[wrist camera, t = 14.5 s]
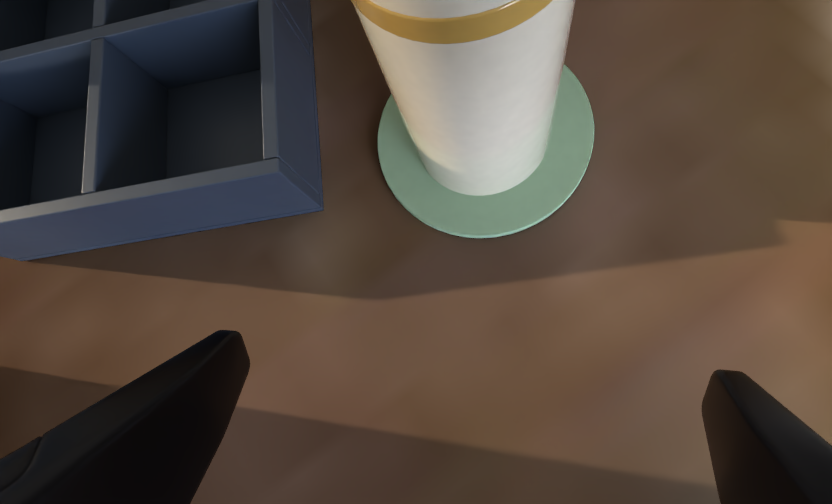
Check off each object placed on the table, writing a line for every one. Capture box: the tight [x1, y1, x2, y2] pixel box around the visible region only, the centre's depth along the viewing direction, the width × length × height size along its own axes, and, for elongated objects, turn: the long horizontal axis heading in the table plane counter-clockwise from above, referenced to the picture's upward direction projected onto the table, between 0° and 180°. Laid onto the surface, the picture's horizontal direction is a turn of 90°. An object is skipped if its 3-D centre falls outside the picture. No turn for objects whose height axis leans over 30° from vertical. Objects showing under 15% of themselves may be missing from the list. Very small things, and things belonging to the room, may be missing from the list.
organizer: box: [0, 0, 324, 261], centre depth 22 cm, size 15×15×4 cm
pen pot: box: [351, 0, 576, 196], centre depth 15 cm, size 6×6×12 cm
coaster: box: [378, 65, 594, 238], centre depth 21 cm, size 9×9×1 cm
